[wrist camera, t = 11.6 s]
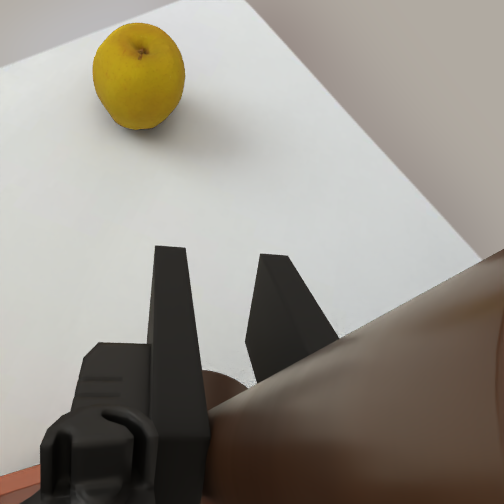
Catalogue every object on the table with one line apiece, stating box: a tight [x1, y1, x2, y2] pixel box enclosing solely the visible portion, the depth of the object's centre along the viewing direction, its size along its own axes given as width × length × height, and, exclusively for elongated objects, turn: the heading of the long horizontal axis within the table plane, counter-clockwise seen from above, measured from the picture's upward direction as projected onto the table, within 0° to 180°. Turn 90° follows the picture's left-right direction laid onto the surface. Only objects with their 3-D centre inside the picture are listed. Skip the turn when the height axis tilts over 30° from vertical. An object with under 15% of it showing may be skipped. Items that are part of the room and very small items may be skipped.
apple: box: [93, 23, 185, 130], centre depth 34 cm, size 6×6×8 cm
